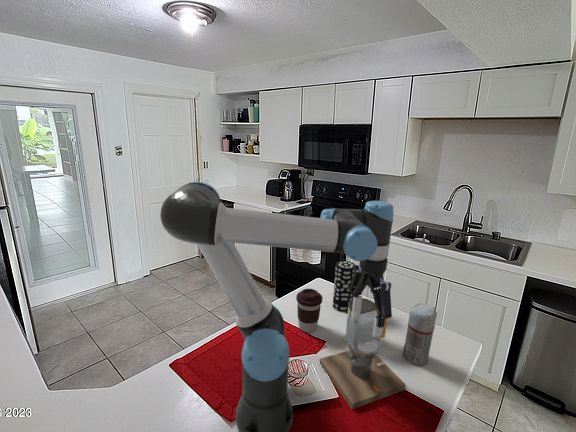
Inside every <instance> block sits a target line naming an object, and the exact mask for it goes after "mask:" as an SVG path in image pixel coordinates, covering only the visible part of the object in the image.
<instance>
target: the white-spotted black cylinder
mask: <svg viewBox="0 0 576 432" xmlns="http://www.w3.org/2000/svg"><path fill="white" fill-rule="evenodd" d="M355 265H356V264H355V263H354V262H352V261H348V260H339V261H336V264H335V274H334V285H333V295H332V296H333V298H332V308H333V309H334V310H336V311H338V312H342V313H348V302H349V301H350V300H351V299H353V296H352V292H350V291H349V287H350V284H351V280H352V277H353V274H354V266H355Z"/></svg>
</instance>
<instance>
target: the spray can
mask: <svg viewBox="0 0 576 432" xmlns="http://www.w3.org/2000/svg"><path fill="white" fill-rule="evenodd" d="M437 316H438V312H437V310H436V308H435V307H434V306H432V305H429V304H426V303H422V302H417V303H415V304H414V305H413V306H412V307H411V308H410V312H409V315H408V322H407V329H406V334H405V341H404V346H403V351H402V356H403V358H404V359H405V360H406V362H408V363H409V364H411V365H414V366H418V367H419V366H425V365H427V364H428V362H429V355H430V351H431V345H432V340H433V335H434V330H435V327H436V326H435V325H436V320H437Z"/></svg>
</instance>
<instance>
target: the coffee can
mask: <svg viewBox="0 0 576 432" xmlns="http://www.w3.org/2000/svg"><path fill="white" fill-rule="evenodd" d="M352 301H353V299H351V300H350V301H349V302H348V312H347V317H346V318H347V319H348V317H351V316H352V307H353V304H352ZM374 310H376V307H375V302H374V301H373V300H370V299H368V298H364V297H362V303H361V313H360V314H364V313H368V312H372V311H374ZM346 329H347V327H346ZM346 329H345V330H346ZM344 337H345V340H346V341H347V342H348V343H349V341H348V339H347V338H346V335H345V336H344Z"/></svg>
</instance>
